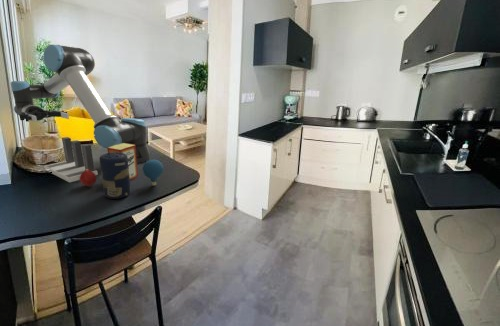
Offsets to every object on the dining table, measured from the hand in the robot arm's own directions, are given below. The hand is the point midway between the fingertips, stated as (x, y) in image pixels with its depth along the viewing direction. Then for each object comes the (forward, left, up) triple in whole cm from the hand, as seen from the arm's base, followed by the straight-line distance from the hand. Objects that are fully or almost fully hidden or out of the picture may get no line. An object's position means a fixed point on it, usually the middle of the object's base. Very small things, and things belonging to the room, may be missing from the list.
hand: (52, 117), depth 123 cm
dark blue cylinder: (-52, +23, -23) cm, 61 cm away
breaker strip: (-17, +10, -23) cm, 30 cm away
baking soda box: (-44, +8, -23) cm, 50 cm away
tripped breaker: (-10, +3, -20) cm, 23 cm away
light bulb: (-60, +10, -23) cm, 65 cm away
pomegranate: (-36, +20, -23) cm, 47 cm away
